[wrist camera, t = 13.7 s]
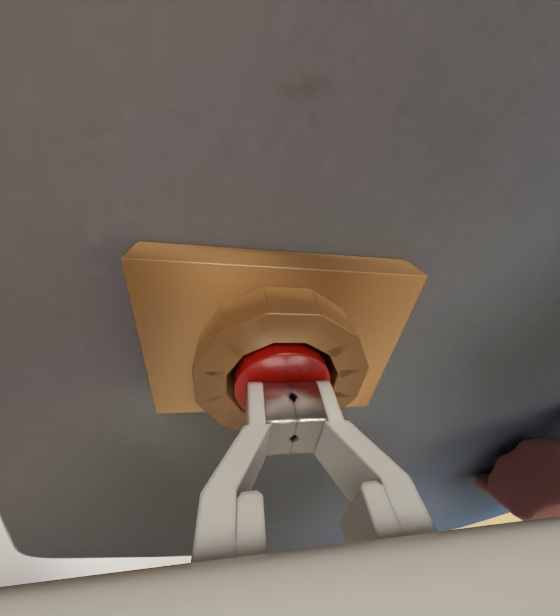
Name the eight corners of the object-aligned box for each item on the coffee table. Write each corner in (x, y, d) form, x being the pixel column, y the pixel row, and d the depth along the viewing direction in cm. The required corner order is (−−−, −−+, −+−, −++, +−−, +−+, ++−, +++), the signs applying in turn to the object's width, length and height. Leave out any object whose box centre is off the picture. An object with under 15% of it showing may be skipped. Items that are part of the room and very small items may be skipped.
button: (234, 386, 11) (233, 421, 10) (236, 321, 10) (235, 353, 8) (311, 384, 12) (320, 418, 11) (327, 323, 10) (341, 353, 9)
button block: (165, 386, 14) (143, 451, 11) (138, 240, 9) (90, 283, 6) (356, 382, 15) (382, 438, 13) (405, 259, 11) (462, 299, 8)
